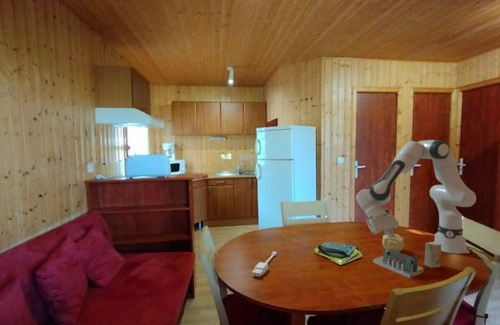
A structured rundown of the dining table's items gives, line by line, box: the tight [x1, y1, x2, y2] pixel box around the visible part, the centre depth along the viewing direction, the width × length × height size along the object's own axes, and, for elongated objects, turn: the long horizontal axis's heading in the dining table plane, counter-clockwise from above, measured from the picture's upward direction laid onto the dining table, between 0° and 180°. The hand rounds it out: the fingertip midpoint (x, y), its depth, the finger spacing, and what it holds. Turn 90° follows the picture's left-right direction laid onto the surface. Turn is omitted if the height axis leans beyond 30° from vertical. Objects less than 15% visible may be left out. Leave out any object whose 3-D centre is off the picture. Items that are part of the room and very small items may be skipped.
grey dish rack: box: [372, 248, 425, 279], centre depth 141 cm, size 20×12×8 cm, turn 29°
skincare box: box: [424, 241, 442, 269], centre depth 142 cm, size 6×4×12 cm
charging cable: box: [251, 251, 278, 277], centre depth 147 cm, size 5×32×3 cm, turn 157°
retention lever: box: [386, 249, 419, 265], centre depth 139 cm, size 2×4×15 cm
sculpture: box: [382, 233, 405, 253], centre depth 163 cm, size 12×12×11 cm
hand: (392, 237), depth 143 cm, fingers closed
